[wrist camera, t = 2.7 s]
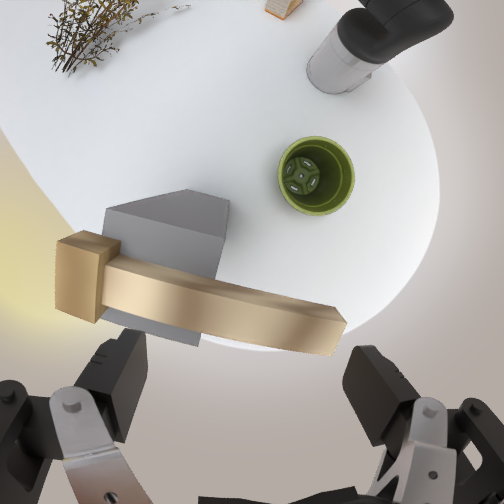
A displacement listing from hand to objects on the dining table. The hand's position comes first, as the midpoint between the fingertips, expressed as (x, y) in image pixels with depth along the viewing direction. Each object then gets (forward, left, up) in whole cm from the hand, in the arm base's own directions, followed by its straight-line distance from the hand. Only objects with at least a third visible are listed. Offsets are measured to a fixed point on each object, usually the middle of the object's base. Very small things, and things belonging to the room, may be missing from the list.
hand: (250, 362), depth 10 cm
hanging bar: (+2, +1, -8) cm, 9 cm away
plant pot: (-11, -9, -43) cm, 45 cm away
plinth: (+6, 0, -42) cm, 43 cm away
